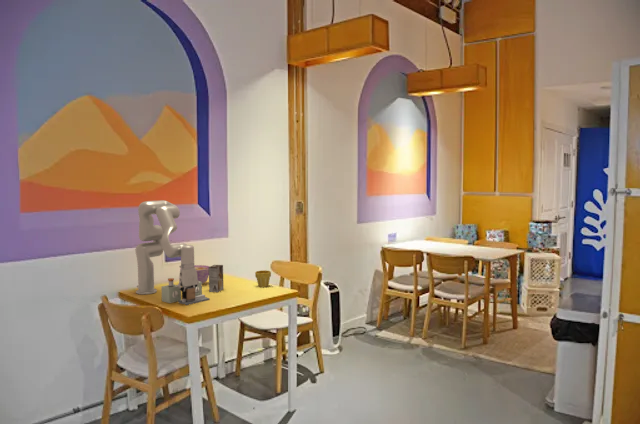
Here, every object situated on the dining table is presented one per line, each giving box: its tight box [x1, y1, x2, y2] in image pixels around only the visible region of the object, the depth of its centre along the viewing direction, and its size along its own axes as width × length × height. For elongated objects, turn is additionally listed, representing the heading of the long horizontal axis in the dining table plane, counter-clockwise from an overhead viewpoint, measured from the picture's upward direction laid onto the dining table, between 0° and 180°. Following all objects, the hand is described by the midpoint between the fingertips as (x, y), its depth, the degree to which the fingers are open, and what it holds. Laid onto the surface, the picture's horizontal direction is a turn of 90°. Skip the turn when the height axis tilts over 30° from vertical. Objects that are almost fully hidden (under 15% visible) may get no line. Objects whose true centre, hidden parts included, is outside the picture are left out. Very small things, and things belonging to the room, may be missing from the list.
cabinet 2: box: [195, 281, 203, 296], centre depth 321 cm, size 8×8×9 cm
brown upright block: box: [181, 286, 195, 302], centre depth 306 cm, size 6×5×8 cm
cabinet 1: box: [160, 284, 182, 304], centre depth 310 cm, size 8×8×9 cm
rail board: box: [177, 294, 211, 306], centre depth 309 cm, size 9×16×2 cm, turn 139°
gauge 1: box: [167, 277, 175, 287], centre depth 309 cm, size 3×3×7 cm
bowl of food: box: [179, 264, 210, 285], centre depth 354 cm, size 20×20×12 cm
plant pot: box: [254, 269, 272, 288], centre depth 348 cm, size 10×10×10 cm
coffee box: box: [208, 264, 224, 293], centre depth 336 cm, size 9×6×16 cm
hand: (188, 296), depth 306 cm, fingers closed on brown upright block, 5 cm apart
